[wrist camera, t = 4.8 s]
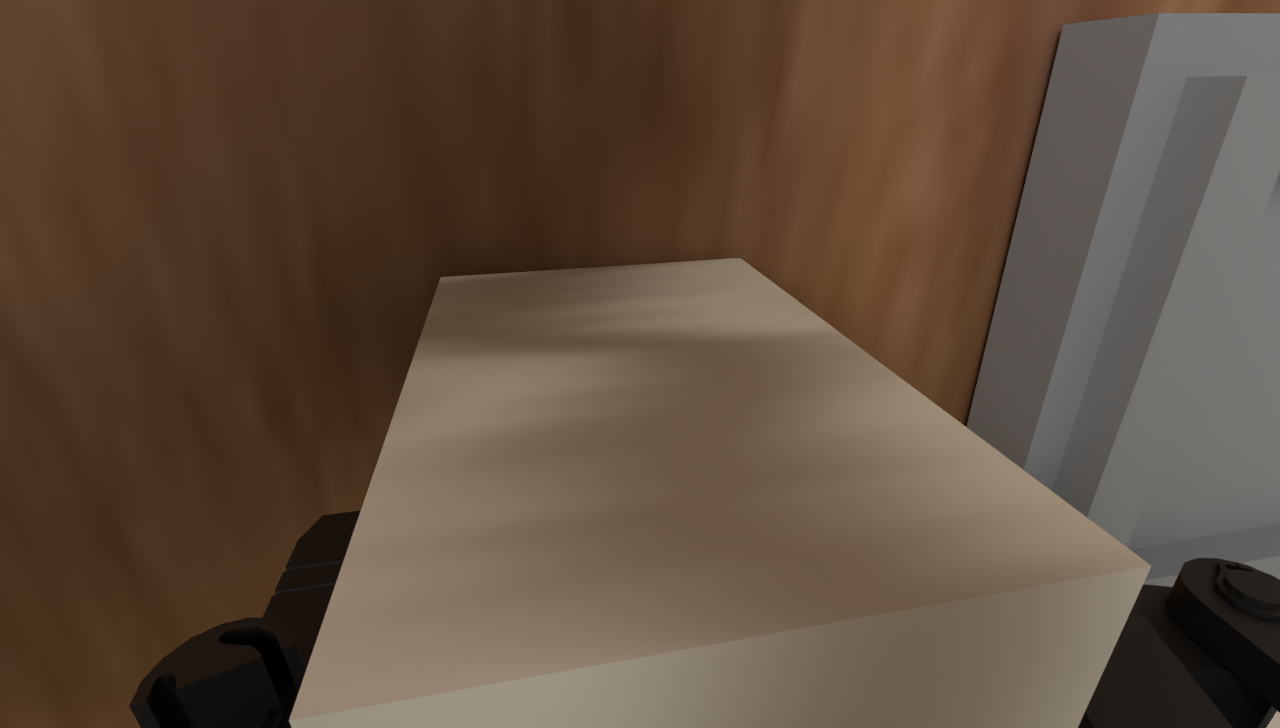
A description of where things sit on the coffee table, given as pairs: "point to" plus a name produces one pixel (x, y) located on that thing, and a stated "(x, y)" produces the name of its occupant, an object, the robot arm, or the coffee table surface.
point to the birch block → (697, 529)
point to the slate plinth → (1150, 290)
